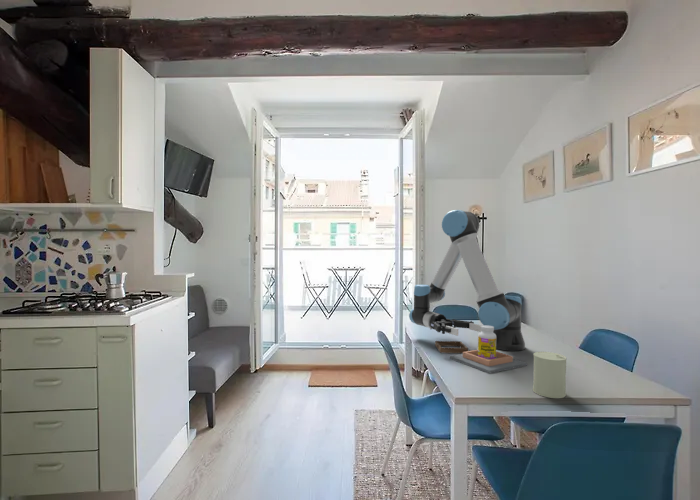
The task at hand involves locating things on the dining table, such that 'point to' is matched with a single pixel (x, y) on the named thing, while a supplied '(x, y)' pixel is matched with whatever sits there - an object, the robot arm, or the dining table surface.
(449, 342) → the collar
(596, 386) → the dining table surface
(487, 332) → the supplement bottle
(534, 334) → the dining table surface
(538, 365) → the can
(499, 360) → the collar
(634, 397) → the dining table surface
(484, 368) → the mat
